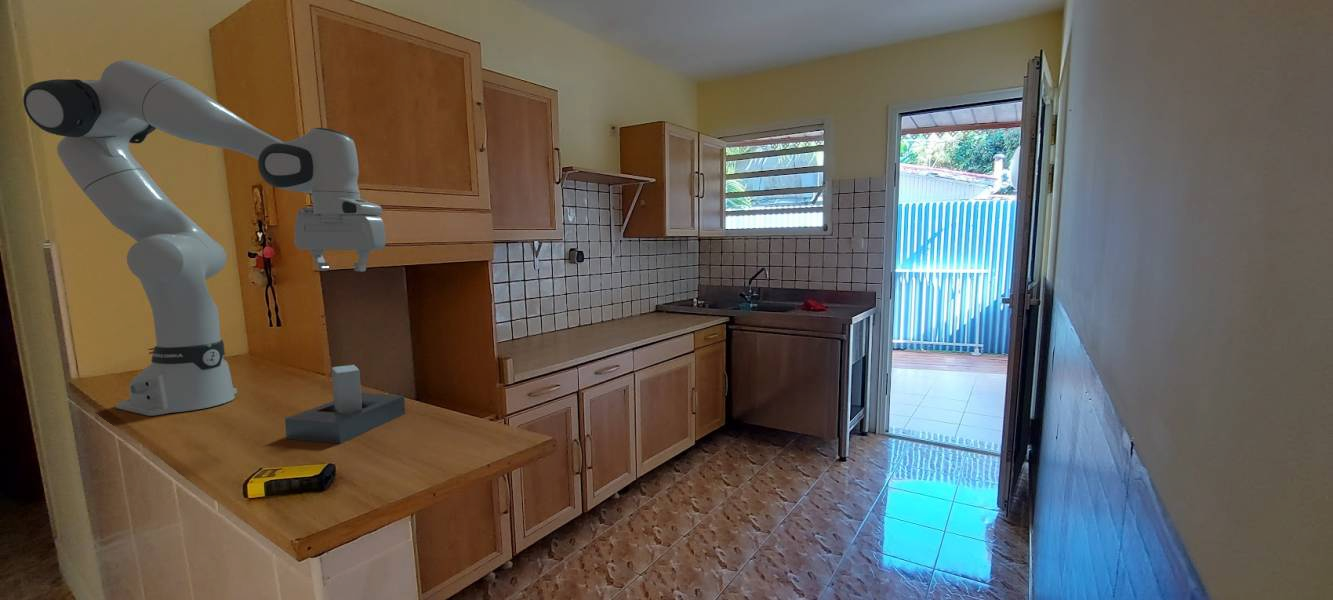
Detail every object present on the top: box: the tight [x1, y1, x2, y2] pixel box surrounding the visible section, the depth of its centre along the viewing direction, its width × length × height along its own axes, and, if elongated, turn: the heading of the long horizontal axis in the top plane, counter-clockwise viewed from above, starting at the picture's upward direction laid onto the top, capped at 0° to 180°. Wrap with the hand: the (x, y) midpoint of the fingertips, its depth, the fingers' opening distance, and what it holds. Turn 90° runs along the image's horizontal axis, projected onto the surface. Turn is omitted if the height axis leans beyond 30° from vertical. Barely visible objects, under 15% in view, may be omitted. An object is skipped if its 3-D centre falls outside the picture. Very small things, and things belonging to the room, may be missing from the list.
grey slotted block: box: [284, 392, 406, 445], centre depth 111 cm, size 12×18×4 cm, turn 168°
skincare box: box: [331, 364, 362, 414], centre depth 110 cm, size 6×4×12 cm
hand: (341, 271), depth 118 cm, fingers open, 8 cm apart
